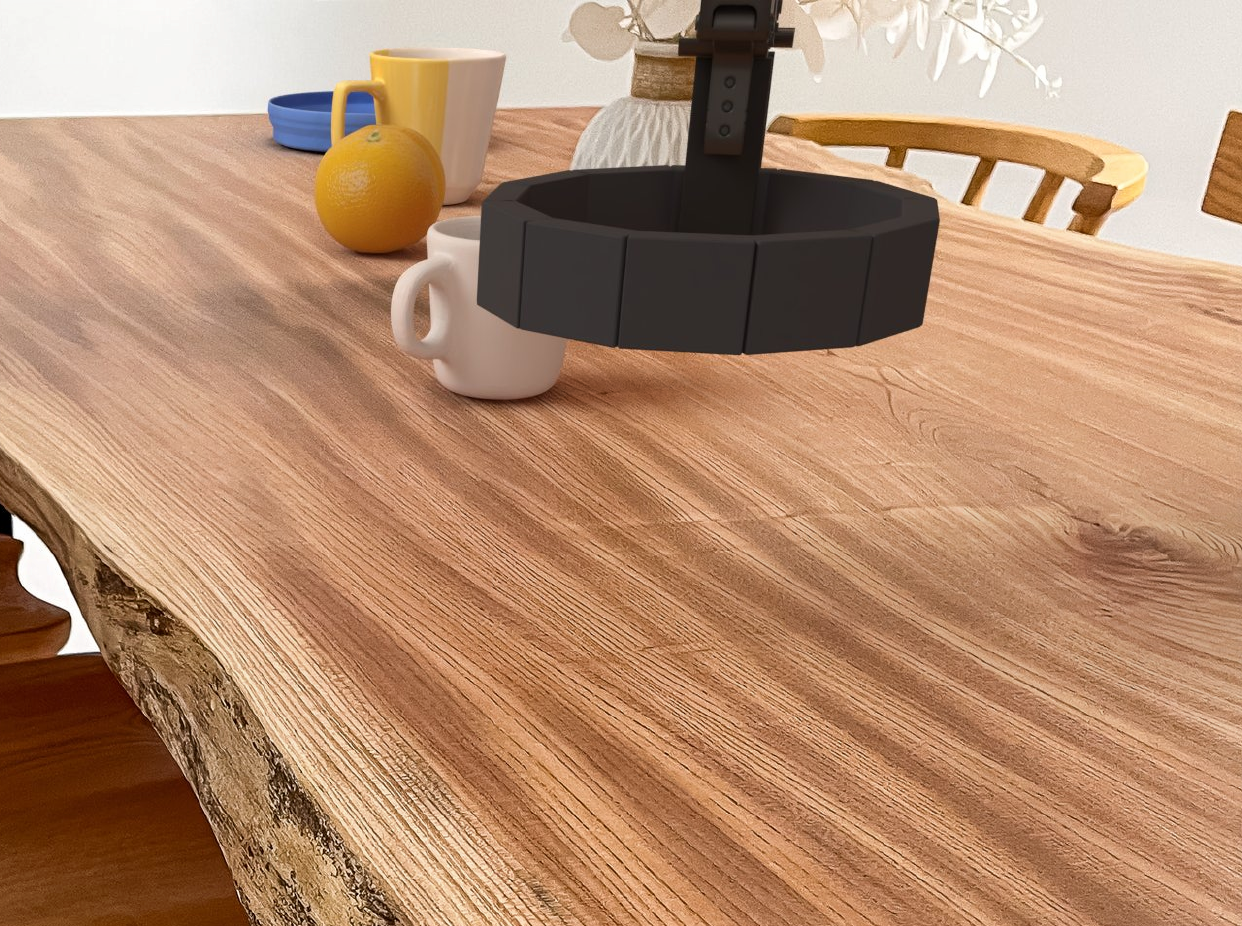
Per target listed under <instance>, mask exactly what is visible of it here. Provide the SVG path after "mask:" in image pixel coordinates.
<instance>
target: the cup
mask: <svg viewBox="0 0 1242 926" xmlns="http://www.w3.org/2000/svg"><path fill="white" fill-rule="evenodd" d="M480 226H481V215H468V216H467V215H466V216H457V217H453V218H446V219H443V220H439V221H436V222H435V223H434V224H433V225H432V226H430V228H429V229H428V232H427V235H426V251H427V259H424V260H421V261H419V262H416V263H414V264H413V265H411V266H410V267H408V268H407V269H405V270H404V272H403V273H402V274H401V275H400V276H399V278H398V280H397V281H396V284H395V286H394V289H393V292H392V297H391V305H390V320H391V321H390V322H391V330H392V334H393V337H394V341H395V342H396V344H397V346H398V348H399V349H400V351H402V352H403V353H404V354H405V355H407V356H409V357H411V358H414V359H417V360H422V361H423V360H424V361H428V360H429V361H430V360H432V365H433V370H434V373H435V376H436V378H437V380H438V382H439V383H440V384H441V385H442V386H443V387H444V388H445V389H447V390H448V391H450V392H453V393H455V394H457V395H461V396H465V397H470V398H475V399H483V400H500V401H501V400H518V399H519V400H520V399H526V398H532V397H535V396H538V395H541V394H544V393H546V392H547V391H549V390H550V389H551V388H552V387H554V385H555V384H556V383H557V381H558V379H559V377H560V374H561V371H562V368H563V365H564V360H565V356H566V350H567V346H568V341H569V339H566V338H561V337H556V336H551V335H546V334H541V333H536V332H531V331H526V330H521V329H517V328H515V327H513V326H512V325H510V324H508V323H507V322H505V321H503V320H502V319H500V318H498V317H497V316H495V315H493V314H492V313H490V312H488V311H487V310H485V309H483V308H482V307H480V306H478V305H477V284H478V265H479V245H480ZM426 285H428V291H429V292H428V293H429V294H428V295H429V296H428V297H429V315H430V316H429V318H430V329H429V331H428V333H427V335H426V336H425V337H424V338H423V339H421V340H419V339H418V336H417V334H416V332H415V324H414V311H415V304H416V300H417V298H418V295H419V293H420V291H421V290H422V289H423V288H424V287H425V286H426Z"/></svg>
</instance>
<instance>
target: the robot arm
mask: <svg viewBox="0 0 1242 926" xmlns="http://www.w3.org/2000/svg"><path fill="white" fill-rule="evenodd" d="M783 2H784V0H700V4H699V5H700V6H699V11H698V14H695V22H694V31H696V33H695V37H679V38H678V46H677V55H678V57H686V58H687V57H689V58H690V57H692V58H695V64H694V65H695V66H694V74H693V83H692V93H691V94H692V95H691V104H690V113H689V122H688V123H689V124H688V134H687V143H686V153H685V162H684V163H685V164H684V165H685V172H684V182H683V192H682V202H681V211H680V221H679V231H678V233H702V234H726V235H751V234H752V226H753V218H754V209H755V201H756V192H757V184H758V176H759V168H762V164H763V156H764V146H765V139H766V132H767V130H766V129H767V122H768V113H769V105H770V97H771V88H772V81H773V73H774V63H775V56H776V51H772V50H771V48H775V49H776V48H777V49H778V48H779V49H793V46H794V41H795V40H794V39H795V33H796V27H782V26H781V27H780V23H779V22H778V21H779V18H780V15H781V14H782V10H783ZM769 50H771V51H769Z"/></svg>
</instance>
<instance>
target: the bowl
mask: <svg viewBox="0 0 1242 926" xmlns="http://www.w3.org/2000/svg"><path fill="white" fill-rule="evenodd" d="M333 93H334V90H325V91H307V92H297V93H296V92H295V93H289V94H282V95H277V96H274V97H272V98H269V100H268V102H267V113H268V120H269V122H270V124H271V126H272V139H273V140H274V142H276V144H278V145H280V146H284V147H288V148H293V149H298V150H304V151H312V152H320V153H326V152H327V151H328V150H329V149H330V148H331V147H332V143H331V114H332V101H333ZM368 125H377V124H376V115H375V106H374V98H373V96H372V95H371V94H369V93H367V92H364V91H354V92H350V93H349V94H348V97H347V102H346V110H345V137H346V136H348V135H349V134H351V133H353V132H355V131H357V130H359V129H361V128H363V127H365V126H368Z"/></svg>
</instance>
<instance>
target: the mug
mask: <svg viewBox="0 0 1242 926" xmlns="http://www.w3.org/2000/svg"><path fill="white" fill-rule="evenodd" d="M368 57H369V66H370V67H369V68H370V79H371V80H365V79H363V80H362V79H361V80H360V79H359V80H358V79H357V80H353V79H352V80H342V81H339V82H338V83H336V84H335V86H334V89H333V91H334V93H333V101H332V114H331V143H332V146H333V145H334V144H336V143H337V142H338V141H340V140H341V139H342V138H344V137H345V110H346V102H347V97H348V94H349V93H350V92H354V91H364V92H367V93H369V94H371V95H372V96H373V98H374V106H375V115H376V124H377V125H379V124H381V125H395V126H402V127H407V128H410V129H413V130H415V131H417V132H418V133H420V134H421V135H423V136H424V137H425V138H426V139H427V140H428V141H429V142H430V143H431V145H432V146H433V147H434V149H435V150H436V152H437V154H438V156H439V158H440V160H441V162H442V165H443V169H444V173H445V182H446V189H445V197H444V201H443V205H442V206H451V205H457V204H462V203H464V202H466V201H467V200H468V199H469V198H470V197H471V196H472V194H473V193H474V192H475V190H477V188H478V187H479V186H480V184H481V183H482V180H483V177H484V172H485V168H486V167H485V166H486V160H487V157H488V151H489V146H490V141H491V137H492V131H493V126H494V120H495V117H496V111H497V108H498V103H499V97H500V92H501V87H502V82H503V79H504V78H503V77H504V72H505V67H506V66H505V65H506V60H507V54H506V53H504V52H501V51H498V50H493V49H492V50H491V49H484V48H483V49H482V48H469V47H445V46H444V47H443V46H408V47H407V46H406V47H405V46H404V47H391V48H386V49H385V48H382V49H377V50H373V51H371V52H369V56H368Z"/></svg>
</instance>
